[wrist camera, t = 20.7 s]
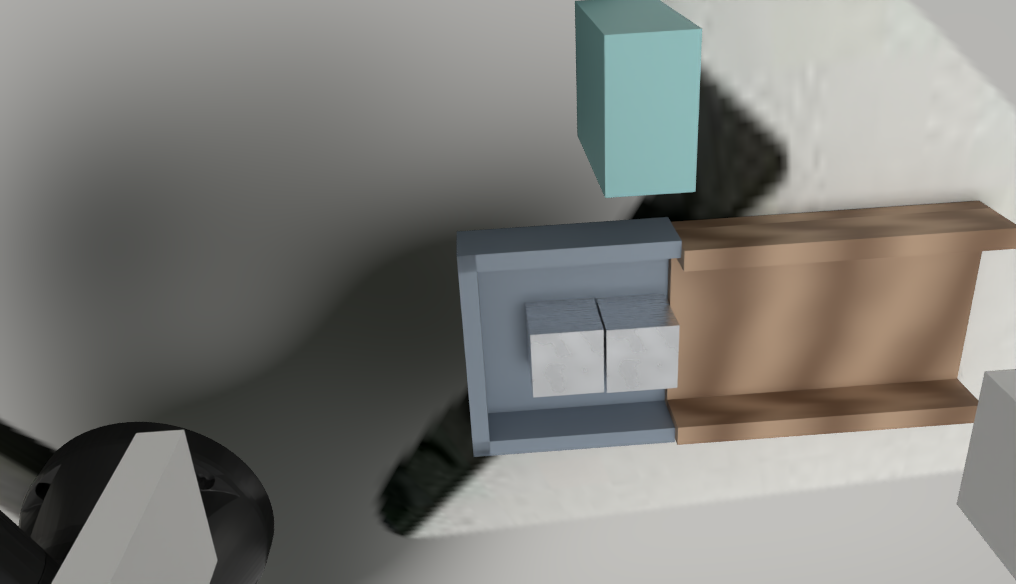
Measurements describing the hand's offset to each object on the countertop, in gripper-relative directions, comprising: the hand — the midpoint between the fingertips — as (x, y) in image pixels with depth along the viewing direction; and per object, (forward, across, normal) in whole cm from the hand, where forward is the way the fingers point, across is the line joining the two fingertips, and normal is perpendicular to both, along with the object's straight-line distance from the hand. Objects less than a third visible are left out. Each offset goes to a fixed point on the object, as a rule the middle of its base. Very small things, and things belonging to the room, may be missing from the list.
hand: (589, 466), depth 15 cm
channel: (+35, +18, -16) cm, 42 cm away
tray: (+35, +3, -16) cm, 38 cm away
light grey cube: (+34, +7, -16) cm, 38 cm away
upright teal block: (+35, +6, -1) cm, 35 cm away
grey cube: (+34, +3, -16) cm, 38 cm away
